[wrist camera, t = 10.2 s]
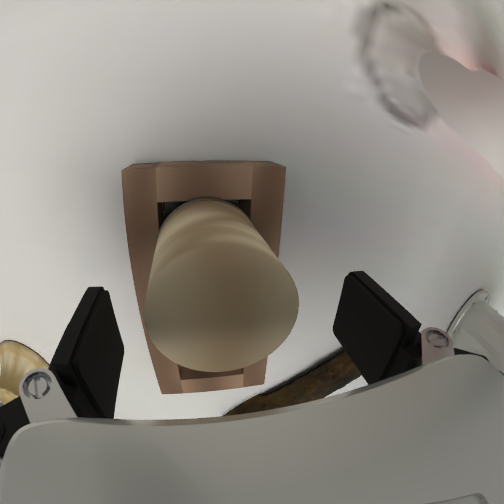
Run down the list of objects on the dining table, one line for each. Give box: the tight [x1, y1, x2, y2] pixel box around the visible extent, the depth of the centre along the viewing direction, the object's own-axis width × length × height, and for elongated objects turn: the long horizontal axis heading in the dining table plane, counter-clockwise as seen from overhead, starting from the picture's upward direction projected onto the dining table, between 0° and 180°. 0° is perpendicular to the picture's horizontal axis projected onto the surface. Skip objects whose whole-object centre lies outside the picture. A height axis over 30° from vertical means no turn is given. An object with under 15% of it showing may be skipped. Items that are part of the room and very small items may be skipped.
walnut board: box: [122, 161, 286, 394], centre depth 19 cm, size 9×18×3 cm, turn 177°
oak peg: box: [144, 198, 299, 372], centre depth 14 cm, size 6×6×10 cm
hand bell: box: [0, 341, 49, 405], centre depth 12 cm, size 8×8×16 cm
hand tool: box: [225, 351, 362, 416], centre depth 26 cm, size 19×4×5 cm, turn 116°
